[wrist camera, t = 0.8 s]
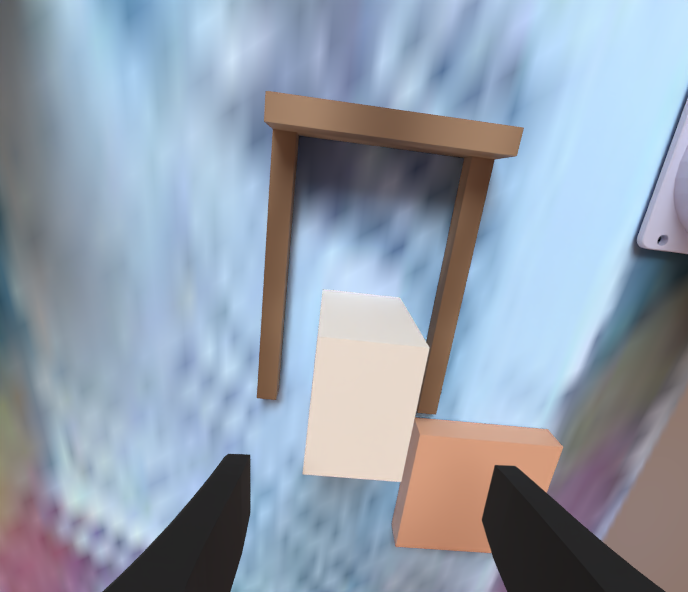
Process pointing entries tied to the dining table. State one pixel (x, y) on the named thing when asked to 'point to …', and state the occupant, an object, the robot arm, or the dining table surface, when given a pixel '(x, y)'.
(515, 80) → the dining table surface
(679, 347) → the dining table surface
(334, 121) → the frame
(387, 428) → the block
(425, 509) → the tile
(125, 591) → the robot arm
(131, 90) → the dining table surface
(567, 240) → the dining table surface
